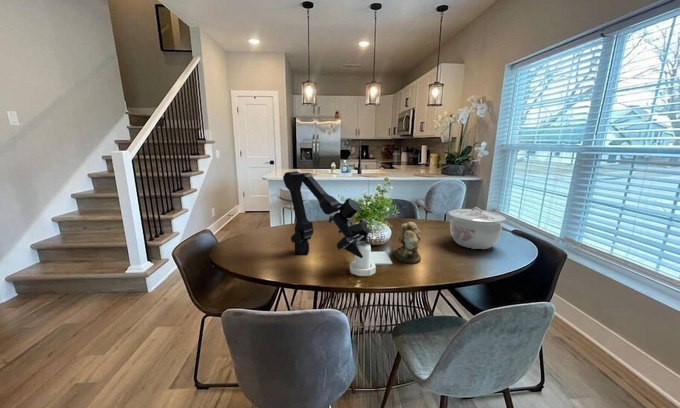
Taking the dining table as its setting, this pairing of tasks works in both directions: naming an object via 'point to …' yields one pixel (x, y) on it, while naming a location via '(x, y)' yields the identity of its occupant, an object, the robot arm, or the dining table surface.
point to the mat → (380, 258)
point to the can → (366, 253)
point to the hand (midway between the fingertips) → (365, 255)
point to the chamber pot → (475, 227)
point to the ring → (362, 270)
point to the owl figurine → (408, 244)
